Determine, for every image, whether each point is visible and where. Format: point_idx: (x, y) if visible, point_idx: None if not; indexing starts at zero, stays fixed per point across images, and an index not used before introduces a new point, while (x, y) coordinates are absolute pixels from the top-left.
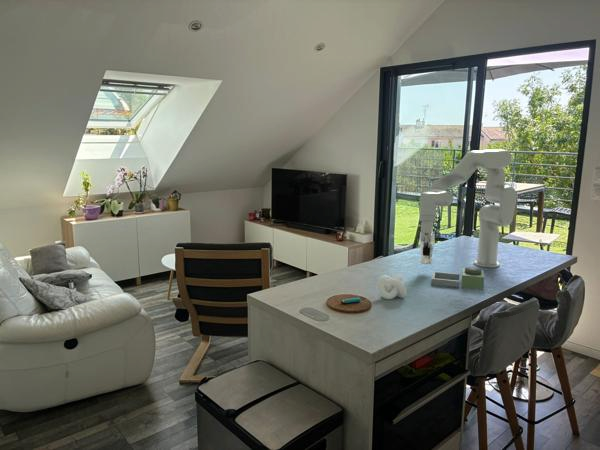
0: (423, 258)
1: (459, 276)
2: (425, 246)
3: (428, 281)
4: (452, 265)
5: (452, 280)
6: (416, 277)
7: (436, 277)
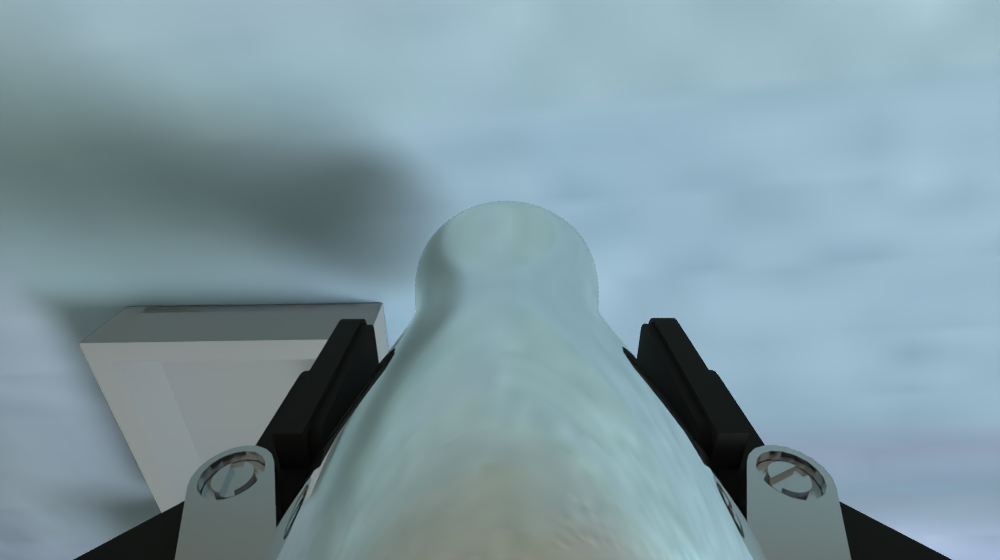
0: (422, 287)
1: None
2: (160, 540)
3: (225, 273)
4: (835, 428)
5: (159, 491)
6: (296, 142)
7: None
